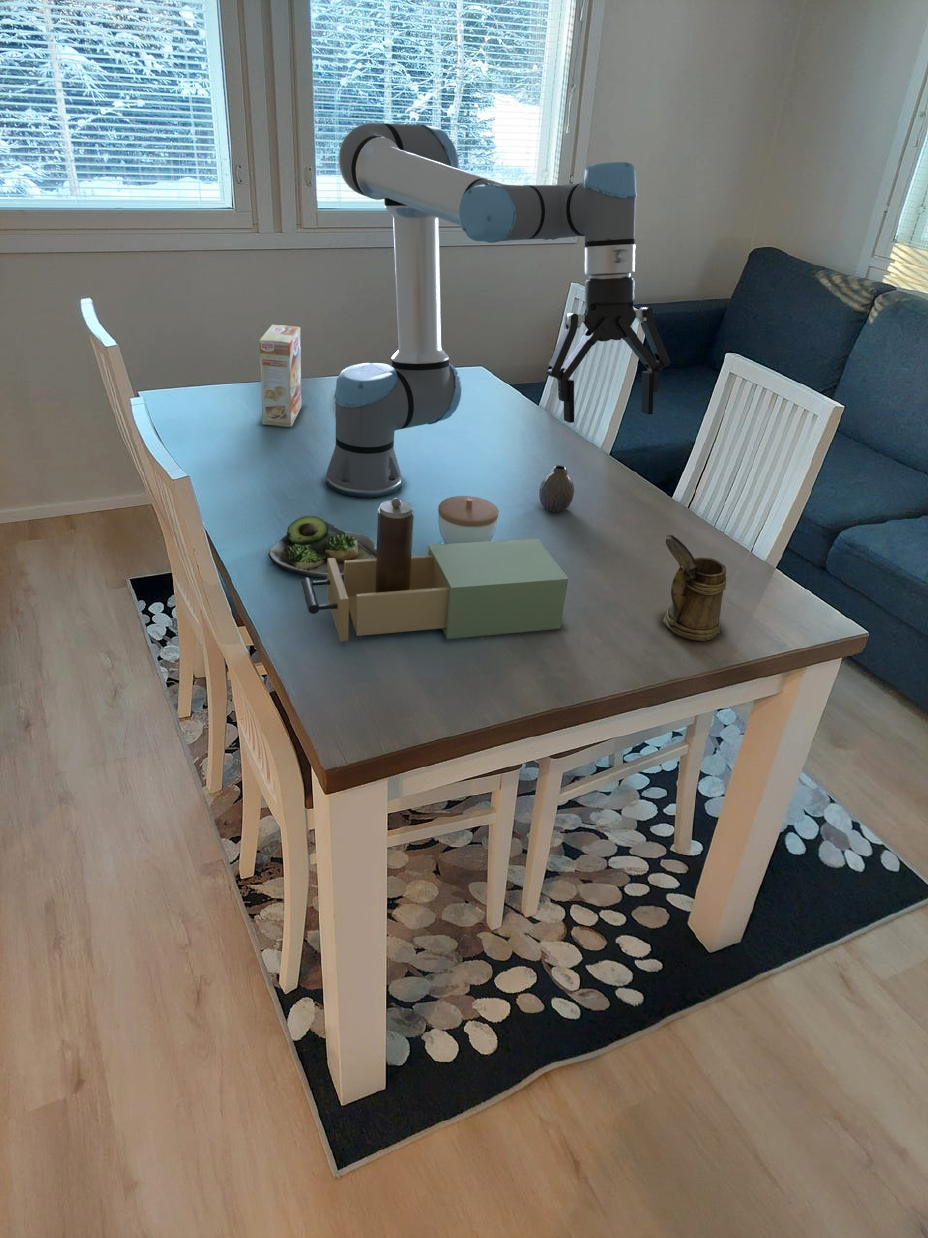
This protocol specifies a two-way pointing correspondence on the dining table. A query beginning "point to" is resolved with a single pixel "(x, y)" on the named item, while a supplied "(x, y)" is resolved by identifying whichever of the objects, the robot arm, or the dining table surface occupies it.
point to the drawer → (381, 598)
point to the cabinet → (500, 587)
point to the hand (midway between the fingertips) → (608, 417)
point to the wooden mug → (695, 594)
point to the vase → (556, 490)
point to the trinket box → (467, 519)
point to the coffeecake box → (280, 375)
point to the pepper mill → (394, 546)
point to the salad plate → (318, 547)
